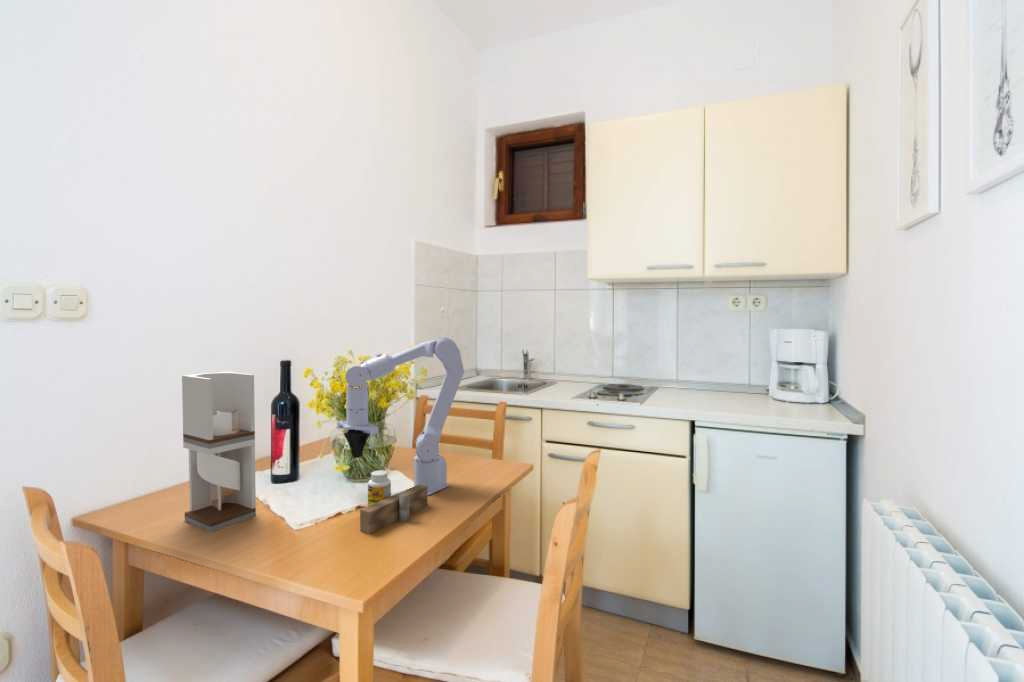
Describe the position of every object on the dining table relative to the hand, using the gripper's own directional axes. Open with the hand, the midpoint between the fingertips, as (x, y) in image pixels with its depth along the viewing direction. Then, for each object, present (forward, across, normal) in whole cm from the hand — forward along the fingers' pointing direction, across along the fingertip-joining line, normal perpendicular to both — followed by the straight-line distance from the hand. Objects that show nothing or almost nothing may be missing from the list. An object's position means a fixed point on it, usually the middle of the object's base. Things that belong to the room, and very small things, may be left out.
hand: (357, 456), depth 133 cm
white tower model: (+11, -15, -29) cm, 34 cm away
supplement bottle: (+11, +15, -6) cm, 19 cm away
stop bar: (+10, +22, -6) cm, 25 cm away
